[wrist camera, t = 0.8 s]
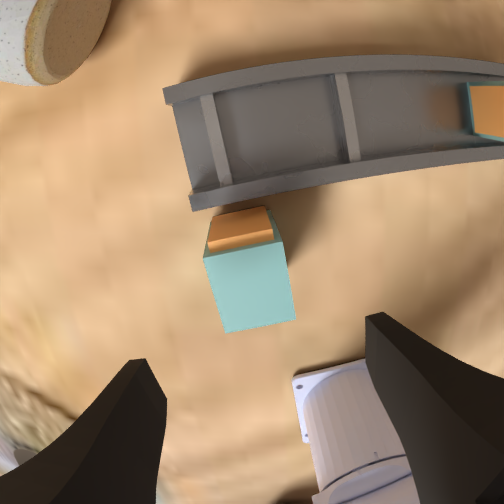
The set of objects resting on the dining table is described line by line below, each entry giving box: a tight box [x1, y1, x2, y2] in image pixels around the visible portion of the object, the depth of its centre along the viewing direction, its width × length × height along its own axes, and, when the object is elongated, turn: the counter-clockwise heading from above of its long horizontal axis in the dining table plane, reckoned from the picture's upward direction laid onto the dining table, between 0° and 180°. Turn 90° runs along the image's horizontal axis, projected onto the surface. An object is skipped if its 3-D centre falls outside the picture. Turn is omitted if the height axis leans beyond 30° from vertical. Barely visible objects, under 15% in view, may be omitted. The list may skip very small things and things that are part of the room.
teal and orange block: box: [203, 206, 296, 333], centre depth 17 cm, size 3×4×5 cm
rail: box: [162, 55, 504, 212], centre depth 15 cm, size 6×22×3 cm, turn 102°
